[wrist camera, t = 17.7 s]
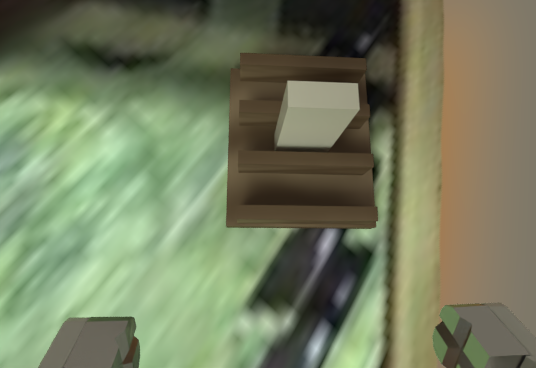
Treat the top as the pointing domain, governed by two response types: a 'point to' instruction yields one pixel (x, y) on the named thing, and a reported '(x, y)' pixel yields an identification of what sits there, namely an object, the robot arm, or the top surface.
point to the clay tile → (314, 115)
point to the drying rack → (296, 163)
